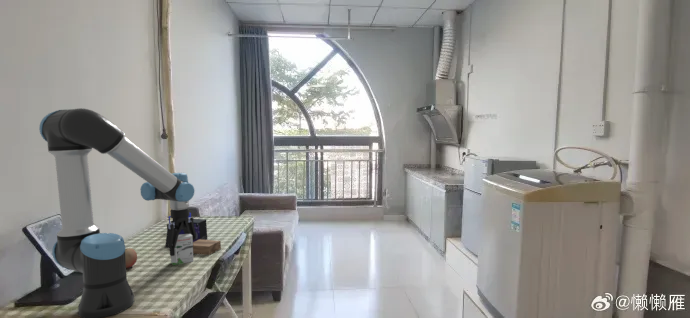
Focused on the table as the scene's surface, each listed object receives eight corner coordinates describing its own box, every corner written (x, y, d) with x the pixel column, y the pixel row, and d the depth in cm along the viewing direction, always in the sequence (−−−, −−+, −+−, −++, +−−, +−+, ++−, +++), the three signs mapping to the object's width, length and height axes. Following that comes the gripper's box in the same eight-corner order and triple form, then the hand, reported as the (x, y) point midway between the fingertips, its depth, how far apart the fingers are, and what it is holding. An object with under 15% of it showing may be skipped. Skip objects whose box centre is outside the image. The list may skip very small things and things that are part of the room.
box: (171, 243, 185) (170, 220, 184) (180, 239, 191) (179, 217, 191) (200, 245, 181) (199, 221, 180) (208, 241, 187) (207, 218, 186)
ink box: (172, 265, 152) (171, 238, 151) (171, 262, 156) (169, 236, 155) (194, 261, 157) (192, 235, 156) (192, 258, 161) (190, 232, 160)
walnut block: (209, 254, 165) (208, 246, 165) (187, 253, 168) (187, 244, 168) (220, 248, 174) (220, 240, 174) (199, 247, 177) (199, 239, 177)
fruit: (118, 265, 153) (117, 247, 153) (139, 263, 156) (138, 245, 156) (113, 272, 146) (112, 253, 145) (135, 269, 149) (134, 250, 148)
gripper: (168, 214, 143) (171, 268, 145) (203, 203, 164) (205, 251, 166) (153, 213, 145) (156, 266, 147) (189, 203, 166) (191, 249, 168)
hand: (182, 258), depth 157 cm, fingers closed on ink box, 9 cm apart
